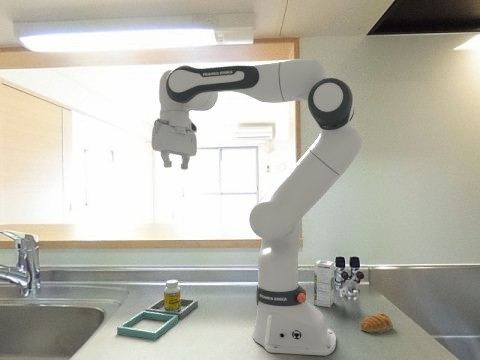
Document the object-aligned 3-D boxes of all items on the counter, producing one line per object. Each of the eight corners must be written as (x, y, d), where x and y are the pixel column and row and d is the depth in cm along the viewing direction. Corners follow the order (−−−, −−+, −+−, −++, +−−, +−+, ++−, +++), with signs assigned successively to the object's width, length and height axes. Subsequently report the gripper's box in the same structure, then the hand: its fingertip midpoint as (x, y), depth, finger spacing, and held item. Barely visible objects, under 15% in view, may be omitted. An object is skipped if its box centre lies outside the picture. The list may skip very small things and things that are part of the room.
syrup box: (317, 299, 124) (317, 259, 124) (334, 302, 121) (334, 261, 121) (313, 305, 119) (313, 263, 118) (331, 308, 116) (331, 265, 116)
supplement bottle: (176, 305, 119) (176, 278, 119) (183, 310, 115) (182, 281, 115) (161, 309, 116) (161, 280, 116) (167, 314, 112) (167, 284, 112)
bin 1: (178, 321, 106) (177, 315, 106) (155, 339, 94) (155, 333, 94) (142, 316, 110) (142, 310, 110) (117, 333, 98) (117, 327, 98)
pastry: (373, 337, 95) (373, 323, 95) (354, 328, 101) (353, 315, 101) (395, 329, 100) (394, 316, 100) (375, 321, 106) (375, 309, 106)
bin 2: (197, 305, 120) (197, 300, 120) (180, 319, 108) (180, 313, 108) (165, 301, 124) (165, 296, 124) (145, 314, 112) (145, 309, 112)
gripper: (164, 115, 95) (165, 165, 95) (199, 128, 114) (201, 169, 114) (145, 118, 98) (146, 166, 97) (183, 130, 117) (184, 171, 116)
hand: (176, 168), depth 105 cm, fingers open, 8 cm apart
